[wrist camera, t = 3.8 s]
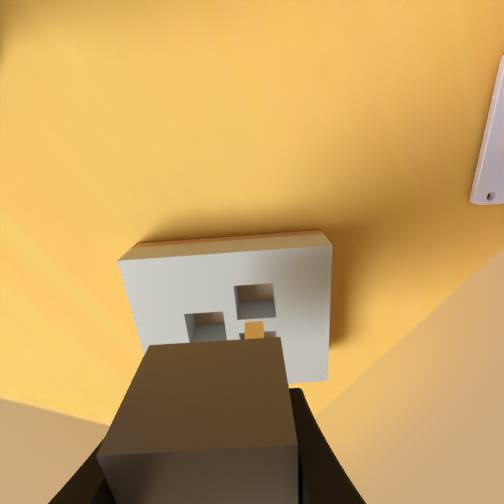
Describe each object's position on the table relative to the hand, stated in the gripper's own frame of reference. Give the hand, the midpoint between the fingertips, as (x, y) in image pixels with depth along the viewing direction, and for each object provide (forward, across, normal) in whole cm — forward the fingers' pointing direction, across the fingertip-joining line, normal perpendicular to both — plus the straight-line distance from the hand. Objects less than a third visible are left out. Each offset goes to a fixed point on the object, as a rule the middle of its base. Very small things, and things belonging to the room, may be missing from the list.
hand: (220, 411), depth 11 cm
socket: (+9, 0, +1) cm, 9 cm away
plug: (+2, 0, 0) cm, 3 cm away
